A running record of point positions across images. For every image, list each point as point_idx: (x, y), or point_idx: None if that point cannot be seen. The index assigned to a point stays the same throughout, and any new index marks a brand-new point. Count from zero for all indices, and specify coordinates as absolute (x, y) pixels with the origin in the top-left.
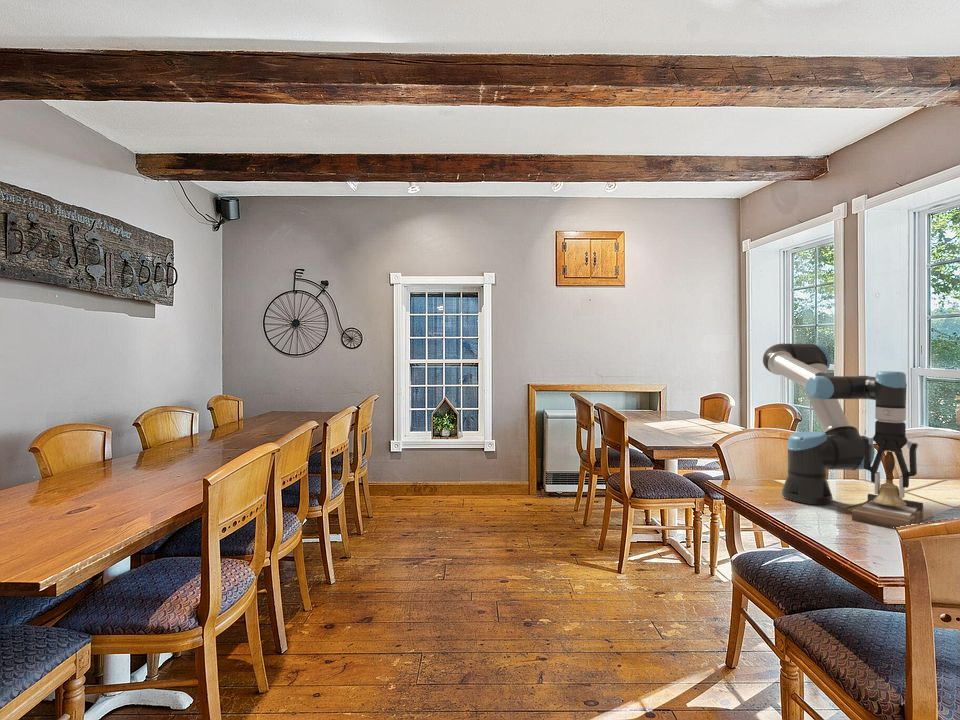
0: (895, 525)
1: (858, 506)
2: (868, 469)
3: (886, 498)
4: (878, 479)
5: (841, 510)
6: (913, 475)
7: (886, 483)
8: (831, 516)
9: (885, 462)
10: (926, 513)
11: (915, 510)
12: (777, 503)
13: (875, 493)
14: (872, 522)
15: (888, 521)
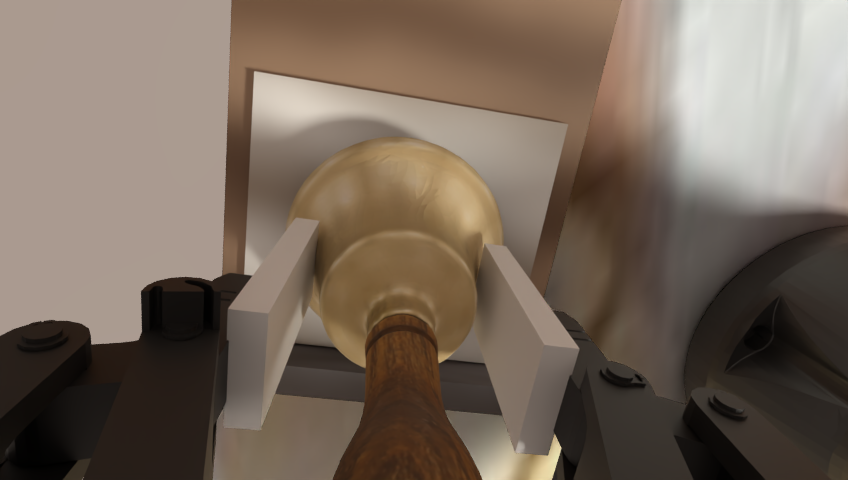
0: None
1: (580, 149)
2: (676, 408)
3: (413, 180)
4: (511, 335)
5: (643, 215)
6: (40, 321)
7: (426, 296)
8: (711, 3)
9: None
10: (243, 454)
11: (245, 267)
12: None
13: (500, 247)
14: None
15: None
